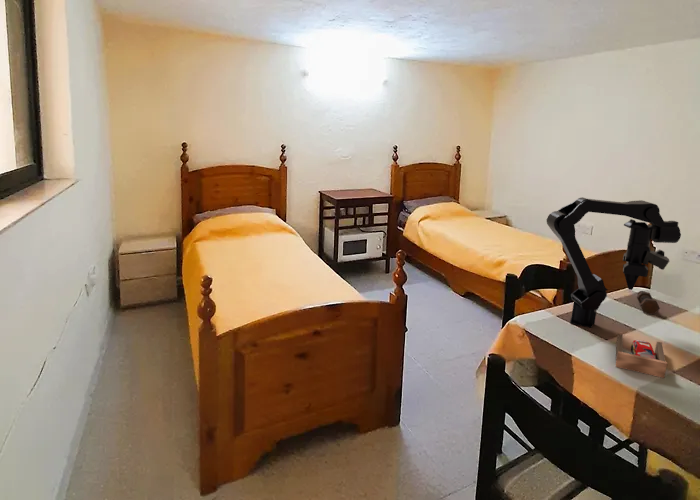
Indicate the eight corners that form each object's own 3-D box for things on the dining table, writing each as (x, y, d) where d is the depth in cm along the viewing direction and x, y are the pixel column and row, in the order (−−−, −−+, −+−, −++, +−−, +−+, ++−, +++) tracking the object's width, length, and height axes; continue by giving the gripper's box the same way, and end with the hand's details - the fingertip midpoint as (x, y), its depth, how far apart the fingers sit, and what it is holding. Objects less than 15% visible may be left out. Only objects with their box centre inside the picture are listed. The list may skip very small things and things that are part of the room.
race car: (656, 372, 122) (659, 359, 121) (632, 367, 124) (635, 354, 123) (651, 351, 133) (654, 338, 132) (629, 347, 135) (632, 334, 134)
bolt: (642, 304, 173) (650, 317, 160) (630, 296, 174) (637, 308, 161) (654, 292, 171) (663, 305, 157) (641, 284, 172) (649, 296, 158)
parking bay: (615, 366, 124) (618, 353, 123) (616, 342, 137) (618, 330, 136) (664, 377, 118) (667, 363, 117) (659, 352, 132) (662, 339, 131)
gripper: (673, 252, 132) (662, 303, 136) (667, 239, 147) (658, 285, 151) (628, 247, 137) (619, 296, 141) (627, 234, 153) (619, 279, 157)
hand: (630, 289), depth 147 cm, fingers closed
